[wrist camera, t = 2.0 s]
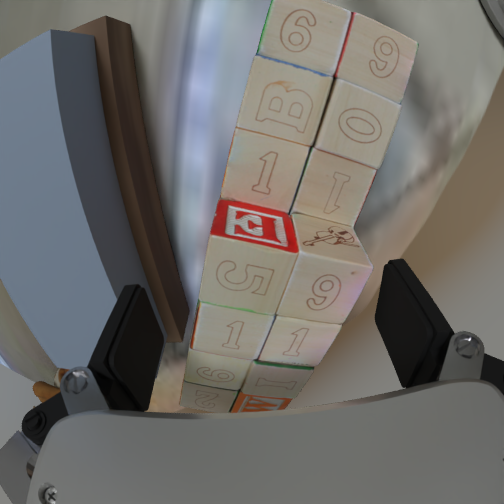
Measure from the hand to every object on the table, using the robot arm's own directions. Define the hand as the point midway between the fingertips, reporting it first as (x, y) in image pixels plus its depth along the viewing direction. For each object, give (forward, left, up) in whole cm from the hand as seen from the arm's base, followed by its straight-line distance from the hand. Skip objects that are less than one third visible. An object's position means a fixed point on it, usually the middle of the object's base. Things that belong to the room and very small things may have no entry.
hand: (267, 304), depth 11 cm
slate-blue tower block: (+14, -1, -8) cm, 16 cm away
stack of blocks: (-1, -1, -12) cm, 12 cm away
